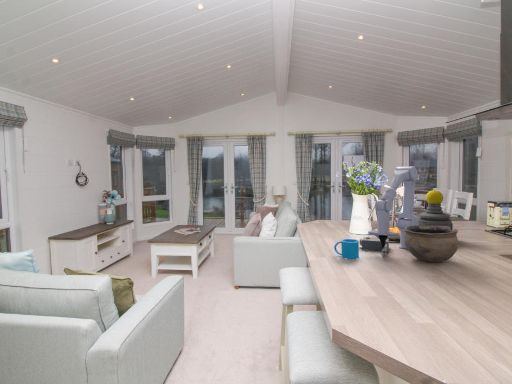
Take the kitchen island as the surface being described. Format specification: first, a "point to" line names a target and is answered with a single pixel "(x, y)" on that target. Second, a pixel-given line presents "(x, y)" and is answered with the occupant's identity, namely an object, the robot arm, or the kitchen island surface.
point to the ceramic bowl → (431, 242)
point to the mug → (349, 248)
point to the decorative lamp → (435, 212)
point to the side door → (384, 249)
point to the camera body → (372, 243)
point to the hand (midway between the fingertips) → (383, 250)
